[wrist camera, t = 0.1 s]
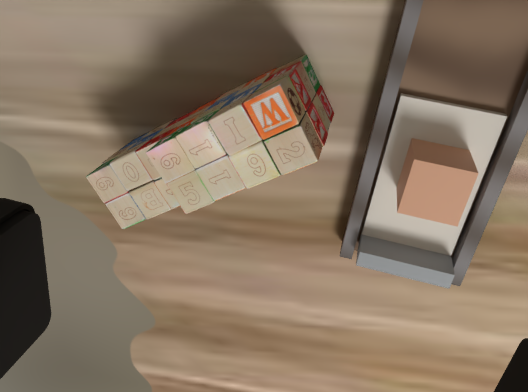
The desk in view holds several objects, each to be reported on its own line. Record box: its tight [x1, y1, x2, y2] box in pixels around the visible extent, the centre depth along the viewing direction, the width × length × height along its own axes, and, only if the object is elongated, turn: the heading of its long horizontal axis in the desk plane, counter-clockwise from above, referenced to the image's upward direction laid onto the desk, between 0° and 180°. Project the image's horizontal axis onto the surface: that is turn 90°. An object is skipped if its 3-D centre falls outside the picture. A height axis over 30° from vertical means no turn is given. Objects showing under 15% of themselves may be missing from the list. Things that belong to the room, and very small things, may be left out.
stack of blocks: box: [86, 55, 334, 229], centre depth 43 cm, size 21×6×12 cm, turn 118°
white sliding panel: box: [356, 93, 507, 288], centre depth 43 cm, size 16×9×4 cm, turn 172°
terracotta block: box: [397, 138, 479, 227], centre depth 41 cm, size 5×5×5 cm
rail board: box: [340, 0, 528, 286], centre depth 42 cm, size 28×12×3 cm, turn 172°
